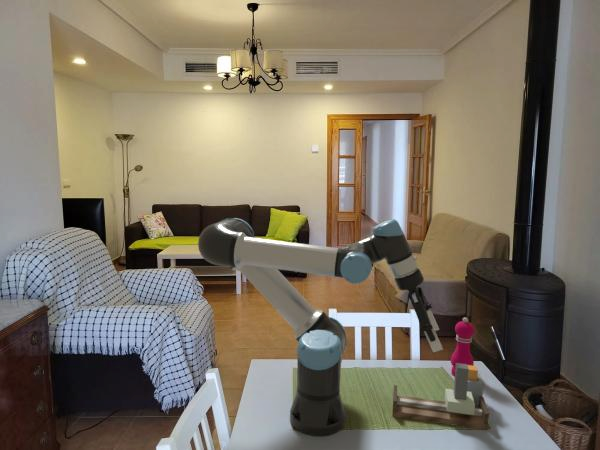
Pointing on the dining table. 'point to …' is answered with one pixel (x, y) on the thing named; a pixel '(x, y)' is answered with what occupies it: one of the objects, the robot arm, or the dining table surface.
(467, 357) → the pepper mill
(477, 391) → the orange button box
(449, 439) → the dining table surface
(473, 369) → the button
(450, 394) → the carriage
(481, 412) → the rail board
